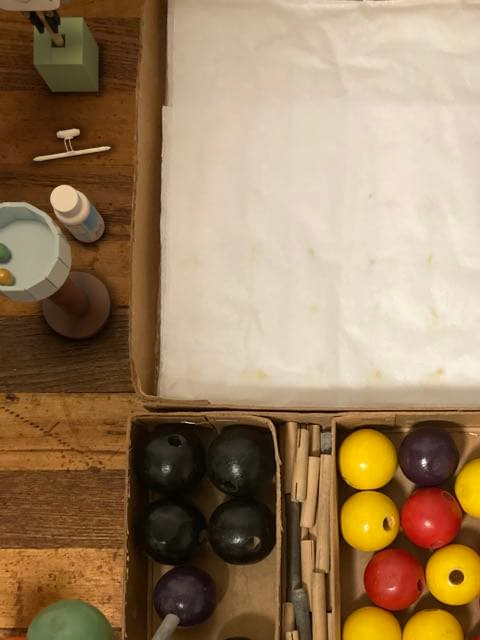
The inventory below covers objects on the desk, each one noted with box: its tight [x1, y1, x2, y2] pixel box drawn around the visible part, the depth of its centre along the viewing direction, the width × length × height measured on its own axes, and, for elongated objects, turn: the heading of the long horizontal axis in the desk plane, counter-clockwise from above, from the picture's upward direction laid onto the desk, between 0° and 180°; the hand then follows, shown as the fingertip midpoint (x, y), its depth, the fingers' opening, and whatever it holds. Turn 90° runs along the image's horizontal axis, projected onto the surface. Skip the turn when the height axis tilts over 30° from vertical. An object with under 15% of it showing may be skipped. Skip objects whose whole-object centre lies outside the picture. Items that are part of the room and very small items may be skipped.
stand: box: [32, 17, 100, 93], centre depth 149 cm, size 8×8×8 cm
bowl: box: [0, 201, 72, 303], centre depth 127 cm, size 13×13×5 cm
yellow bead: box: [0, 268, 13, 286], centre depth 127 cm, size 3×3×3 cm
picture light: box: [32, 128, 111, 162], centre depth 151 cm, size 14×4×2 cm, turn 100°
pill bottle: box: [49, 184, 105, 243], centre depth 146 cm, size 6×6×11 cm
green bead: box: [0, 243, 9, 261], centre depth 127 cm, size 3×3×3 cm
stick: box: [35, 11, 65, 48], centre depth 144 cm, size 2×2×16 cm
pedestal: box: [41, 270, 113, 340], centre depth 140 cm, size 12×12×21 cm
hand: (49, 25), depth 141 cm, fingers closed on stick, 1 cm apart
